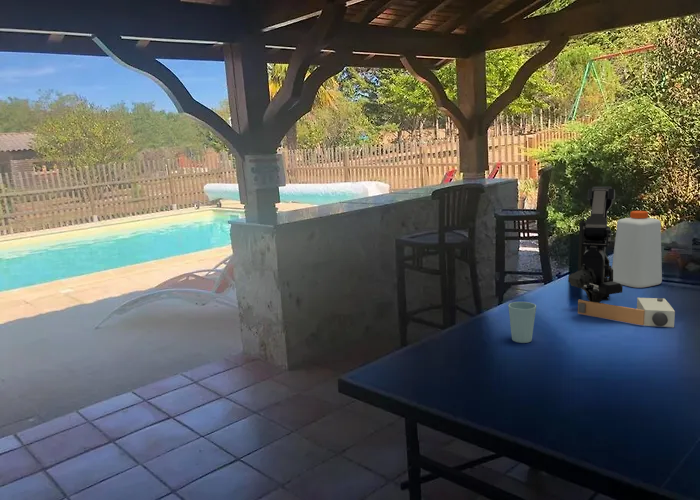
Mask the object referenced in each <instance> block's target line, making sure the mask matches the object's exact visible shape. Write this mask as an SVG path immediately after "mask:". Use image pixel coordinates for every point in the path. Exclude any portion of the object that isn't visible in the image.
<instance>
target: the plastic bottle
mask: <svg viewBox="0 0 700 500" xmlns="http://www.w3.org/2000/svg"><path fill="white" fill-rule="evenodd" d="M629 214H630V216H629V217H625V218H620V219H618V220H617V221H616V222H617V223H616V230H615V237H614V238H615V239H614V249H613V256H612V265H611V268H612V269H613V282H616V283H620V284H621V285H622V286H626V287H630V288H634V289H635V288H637V289H643V288H645V289H646V288H648V287H654V286H658V285H660V284H661V283H662V282H663V275H662V274H663V272H662V269H663V268H662V267H663V265H662V263H663V262H662V228H661V227H662V225H661V224H662V222H661V221H660V219H658V218H657V219H656V218H652V217H649V212H648V211H647V210H632V211H630V213H629Z"/></svg>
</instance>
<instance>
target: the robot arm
mask: <svg viewBox="0 0 700 500" xmlns="http://www.w3.org/2000/svg"><path fill="white" fill-rule="evenodd" d="M615 198H616V190H615V189H614V188H612V186H592V188H588V190H587V200H588V201H589V205H590V207H591V211H590V216H589V217H588V218H586V220H585V221H586V224H585V226H583V232H582V243H581V246H586V251H585V253H584V256H583V263H584V264H582V267H581V270H580V271H578V270H577V271H575V272H573V273H570V274H569V276H568V283H569V284H570V285H571V287H575V288H578V289H581V290H583V291H584V292H585V294H586V296H587V298H588V299H587V300H588V301H592V302H598V303H601V301H602V300H603V301H604V300H605V301H608V300H609V298H610V295H615V294H621V293H623V286H624V285H621V284H620V283H616V282H613V269H612V265H610V258H609V257H608V256H607V254H606V247H607V248H608V246H609V244H611V239H612V230H611V227H610V226H608V219H607V218H608V212H609V210H610V209H611V207H612V206H613V201H615ZM584 239H585V240H587V241H585V242H584Z"/></svg>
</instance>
